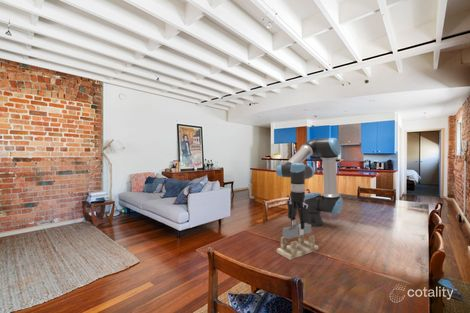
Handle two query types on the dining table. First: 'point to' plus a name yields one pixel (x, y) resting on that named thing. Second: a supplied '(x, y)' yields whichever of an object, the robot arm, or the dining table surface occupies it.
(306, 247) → the rack
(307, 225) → the bar
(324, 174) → the robot arm
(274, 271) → the dining table surface
